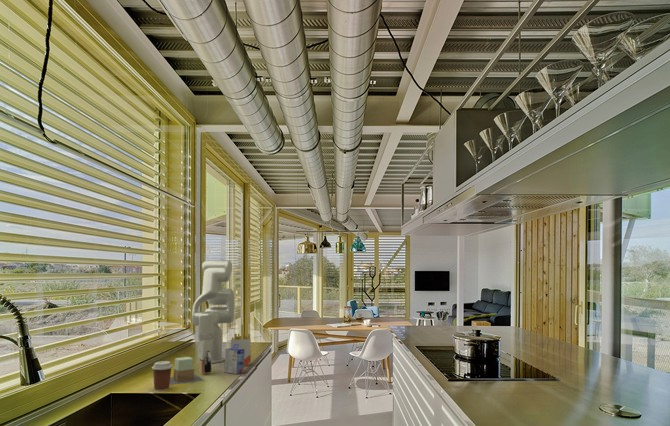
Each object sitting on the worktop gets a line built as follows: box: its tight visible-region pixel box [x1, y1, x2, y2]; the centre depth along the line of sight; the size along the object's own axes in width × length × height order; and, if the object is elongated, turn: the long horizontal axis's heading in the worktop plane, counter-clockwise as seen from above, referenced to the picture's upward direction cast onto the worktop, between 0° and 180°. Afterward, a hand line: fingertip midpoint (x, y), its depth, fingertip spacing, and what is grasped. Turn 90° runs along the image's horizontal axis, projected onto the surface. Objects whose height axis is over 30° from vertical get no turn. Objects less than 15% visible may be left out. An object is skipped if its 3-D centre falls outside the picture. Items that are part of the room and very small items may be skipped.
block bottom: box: [173, 367, 195, 382], centre depth 235 cm, size 8×8×5 cm
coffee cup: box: [151, 360, 174, 391], centre depth 218 cm, size 9×9×12 cm
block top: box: [174, 356, 194, 371], centre depth 236 cm, size 7×7×5 cm
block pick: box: [198, 359, 212, 376], centre depth 249 cm, size 5×5×7 cm
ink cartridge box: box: [224, 344, 245, 375], centre depth 252 cm, size 10×6×14 cm, turn 53°
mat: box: [169, 373, 205, 386], centre depth 235 cm, size 16×16×1 cm
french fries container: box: [230, 333, 252, 367], centre depth 270 cm, size 5×11×18 cm, turn 103°
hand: (205, 370), depth 249 cm, fingers open, 8 cm apart
